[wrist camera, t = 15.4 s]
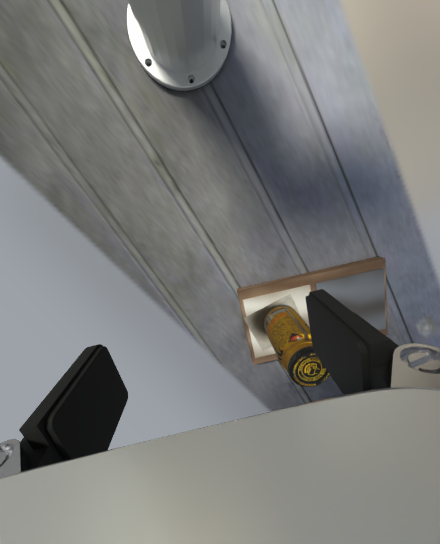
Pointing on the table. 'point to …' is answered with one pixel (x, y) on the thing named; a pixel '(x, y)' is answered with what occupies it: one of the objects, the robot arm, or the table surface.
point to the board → (336, 281)
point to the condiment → (288, 340)
